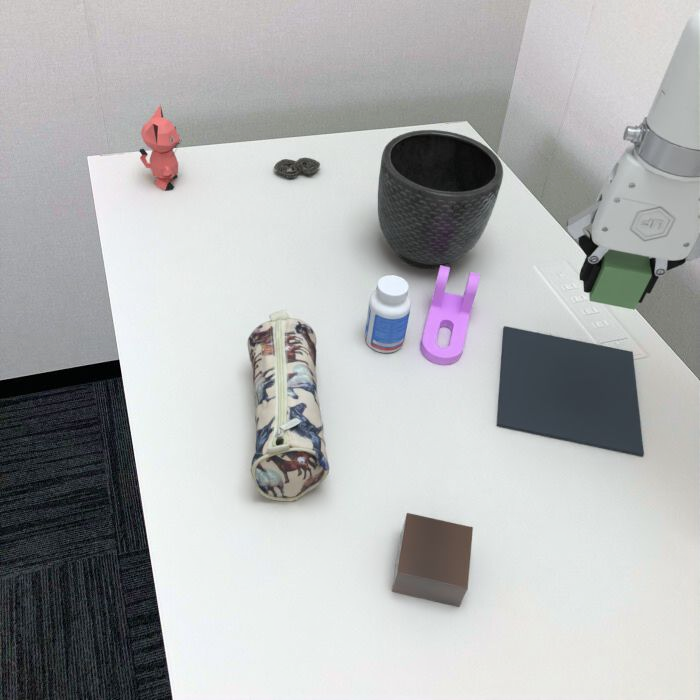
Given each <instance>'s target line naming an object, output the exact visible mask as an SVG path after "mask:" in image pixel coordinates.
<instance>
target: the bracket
mask: <svg viewBox="0 0 700 700" xmlns="http://www.w3.org/2000/svg"><path fill="white" fill-rule="evenodd" d="M450 270H451V267H450V266H447V265H444V266H442V265H440V267H439V268H438V273H437V277H436V281H435V286H434V289H433V294H432V299H431V303H430V307H429V310H428V314H427V319H426V322H425V326H424V330H423V334H422V338H421V342H420V352H421V354H422V355H423V357H424V358H425V359H426V360H428V361H429V362H430V363H433V364H436V365H441V366H448V365H452V364H455V363H457V362H458V361H459V360H460V359H461V357H462V354H463V350H464V346H465V345H464V344H465V341H466V336H467V332H468V331H467V330H468V325H469V320H470V316H471V313H472V308H473V305H474V302H475V298H476V295H477V291H478V287H479V283H480V279H481V274H480V273H477V272H473V271H470V272H469V273H468V278H467V282H466V285H465V289H464V292H463V296H462V295H458V294H454V293H450V292H445V291H446V287H447V283H448V278H449V274H450ZM441 328H448V329H449V330H450V331H451V335H450V339H449V344H448V346H445V347H442V346H440V345H439V344H438V343H437V339H438V334H439V331H440V329H441Z"/></svg>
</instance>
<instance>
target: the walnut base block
mask: <svg viewBox="0 0 700 700" xmlns="http://www.w3.org/2000/svg"><path fill="white" fill-rule="evenodd" d="M473 532H474V527H473V526H469V525H465V524H460V523H455V522H451V521H447V520H441V519H437V518H433V517H427V516H424V515H419V514H415V513H409V512H406V515H405V518H404V521H403V525H402V528H401V532H400V538H399V543H398V551H397V557H396V563H395V569H394V575H393V581H392V586H391V592H392V593H397V594H402V595H405V596H411V597H415V598H419V599H423V600H428V601H432V602H436V603H441V604H446V605H449V606H455V607H459V608H460V606H461V605H462V602H463V601H464V598H465V596H466V593H467V591H468V589H469V579H470V577H469V576H470V568H471V567H470V566H471V556H472V555H471V554H472V543H473Z"/></svg>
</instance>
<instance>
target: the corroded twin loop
mask: <svg viewBox="0 0 700 700" xmlns="http://www.w3.org/2000/svg"><path fill="white" fill-rule="evenodd" d="M305 166H307V167H305ZM320 166H321V163H320V162H319V161H318V160H316V159H314V158H311V157H300V158H298V159H297V160H294V159H288V158H284V159H281V160H279V161H277V162H275V164H274V166H273V169H274V170H275V172H276V173H277V174H278V175H280V176H283V177H285V178H288V179H292V178H296V177H297V176H298V175H299V174H301V175H305V176H312V175H314V174H316V172H317V171H318V170H319V169H320ZM290 167H291V168H293V169H294V170H290Z"/></svg>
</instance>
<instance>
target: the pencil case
mask: <svg viewBox="0 0 700 700" xmlns="http://www.w3.org/2000/svg"><path fill="white" fill-rule="evenodd" d="M268 317H269V319H270V320H268V321H265V322H263V323H260V324H259V325H257V326H256V327H255V328H254V329H253V330H252V332H251V333H250V334H249V336H248V338H247V343H246V345H247V350H248V351H247V352H248V356H249V357H248V358H249V361H250V365H251V368H252V381H253V382H252V383H253V391H254V392H253V393H254V402H255V408H256V410H255V414H254V421H255V426H256V428H255V429H256V430H255V431H256V432H255V433H256V435H255V437H256V438H255V453H254V455H253V457H252V460H251V463H250V468H249V470H250V471H249V472H250V475H251V478H252V481H253V484H254V486H255V489H256V490H257V491H258V492H259V494H260V495H262V496H263V497H265V498H267V499H270V500H273V501H278V502H279V501H280V502H287V501H288V502H295V501H296V500H299V499H300V498H302V497H303V496H304V495H305V494H307V493H308V492H309V491H311V490H313V489H315V488H316V487H317V486H319V485H320V484H322V483H323V482H324V481H325V480H326V478H327V477H328V475H329V472H330V464H329V461H328V454H327V450H326V440H325V436H324V434H325V433H324V423H323V419H322V412H321V407H320V400H319V395H318V390H317V389H318V387H317V385H318V381H317V337H316V336H317V335H316V333H315V330H314V329H313V328H312V327H311V325H309V324H308V323H307V322H305V321H304V320H302V319H300V318H297V317H289V313H288V311H287V309H282V310H279V311H275V312H272V313H270V314H268Z"/></svg>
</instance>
